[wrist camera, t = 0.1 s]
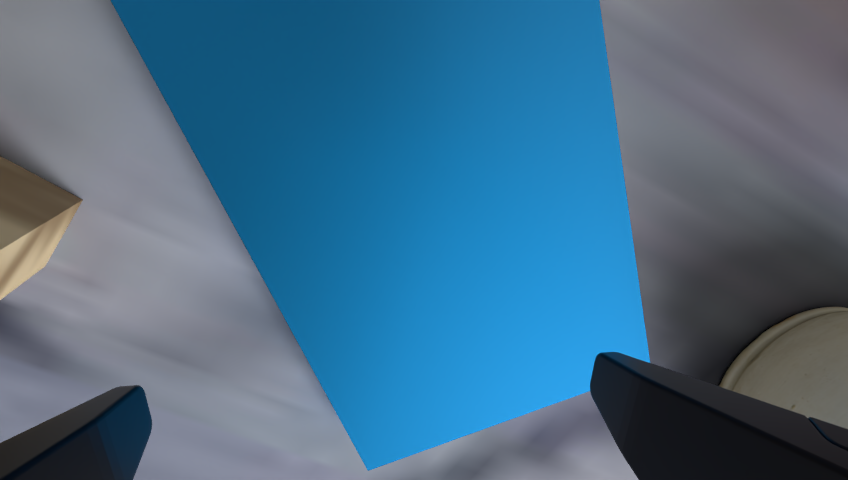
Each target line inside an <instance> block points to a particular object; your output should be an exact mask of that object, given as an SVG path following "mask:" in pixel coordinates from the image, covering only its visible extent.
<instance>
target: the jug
mask: <svg viewBox="0 0 848 480" xmlns="http://www.w3.org/2000/svg"><path fill="white" fill-rule="evenodd" d="M719 387H722V388H725V389H728V390H731V391H734V392H737V393H740V394H743V395H746V396H749V397H752V398H755V399H758V400H761V401H764V402H767V403H770V404H773V405H775V406H778V407H781V408H784V409H787V410H790V411H793V412H796V413H799V414H802V415H805V416H806V417H807V418H809V417H813V418H816V419H819V420H822V421H825V422H828V423H831V424H834V425H837V426H840V427H843V428H846V429H848V308H844V307H823V308H817V309H812V310H808V311H805V312H801V313H799V314H796V315H794V316H791V317H789V318H787V319H786V320H784V321H782V322H780V323H779V324H776V325H774V326H772V327H771V328H769V329H768V330H767V331H765V332H763V333H762V334H761V335H760V336H759V337H758V338H757V339H756V340H754V341H753V342H752V343H751V344H750V345H749V346H747V347H746V348H745V349H744V350H743V351H742V352H741V353H740V354H739V355H738V357H737V358H736V359H735V360H734V361H733V363H732V364H731V366H730V367H729V368H728V370H727V371H726V373H725V375H724V377H723V379H722V382H721V384H720V385H719Z"/></svg>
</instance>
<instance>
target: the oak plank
mask: <svg viewBox="0 0 848 480" xmlns="http://www.w3.org/2000/svg"><path fill="white" fill-rule="evenodd" d="M81 202H82V199H80V198H78V197H77V196H75V195H73V194H71V193H69V192H67V191H65V190H63V189H61V188H60V187H58V186H56V185H54V184H52V183H50V182H48V181H46V180H45V179H43V178H41V177H39V176H37V175H35V174H33V173H31V172H30V171H28V170H26V169H24V168H22V167H20V166H18V165H16V164H14V163H13V162H11V161H9V160H7V159H5V158H3V157H1V156H0V300H1V299H2V298H4V297H5V296H6V295H8V294H9V293H10V292H12V291H13V290H14V289H16V288H17V287H18V286H20V285H21V284H22V283H24V282H25V281H26V280H28V279H29V278H30V277H31V276H33V275H34V274H35V273H37V272H38V271H39V270H41V269H42V268H43V267H45V266H46V264H47V262H48V260H49V259H50V257H51V255H52V253H53V252H54V250H55V248H56V246H57V245H58V243H59V241H60V239H61V237H62V236H63V234H64V232H65V230H66V229H67V227H68V225H69V223H70V222H71V220H72V218H73V216H74V214H75V213H76V211H77V209H78V207H79V206H80V204H81Z"/></svg>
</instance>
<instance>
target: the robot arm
mask: <svg viewBox="0 0 848 480" xmlns="http://www.w3.org/2000/svg"><path fill="white" fill-rule="evenodd" d="M590 391H591V395H592V398H593V400H594V402H595V404H596V405H597V407H598V409H599V411H600V413H601V415H602V417H603V419H604V421H605V423H606V425H607V427H608V429H609V430H610V432H611V434H612V436H613V438H614V440H615V442H616V444H617V446H618V447H619V449H620V451H621V453H622V454H623V456H624V458H625V459H626V461H627V462H628V464H629V465H630V467H631V468H632V470H633V471H634V473H635V474H636V476H637V478H638V479H639V480H848V429H846V428H843V427H840V426H837V425H834V424H831V423H828V422H825V421H822V420H819V419H816V418H813V417H809V418H807V417H806V416H805V415H802V414H799V413H796V412H793V411H790V410H787V409H784V408H781V407H778V406H775V405H773V404H770V403H767V402H764V401H761V400H758V399H755V398H752V397H749V396H746V395H743V394H740V393H737V392H734V391H731V390H728V389H725V388H722V387H719V386H716V385H713V384H710V383H707V382H704V381H702V380H699V379H696V378H693V377H690V376H687V375H684V374H681V373H678V372H675V371H672V370H669V369H666V368H663V367H660V366H657V365H654V364H651V363H648V362H645V361H642V360H639V359H636V358H633V357H631V356H628V355H625V354H622V353H619V352H602V353H599V354H598V355H597V356H596V358H595V362H594V366H593V371H592V376H591V381H590ZM151 429H152V419H151V415H150V411H149V407H148V403H147V399H146V396H145V392H144V390H143V388H142V387H141V386H139V385H134V386H120V387H116V388H114V389H112V390H110V391H107V392H105V393H103V394H101V395H99V396H97V397H95V398H93V399H91V400H89V401H87V402H85V403H83V404H80V405H78V406H76V407H74V408H72V409H70V410H68V411H66V412H64V413H62V414H60V415H58V416H56V417H54V418H51V419H49V420H47V421H45V422H43V423H41V424H39V425H37V426H35V427H33V428H31V429H29V430H27V431H24V432H22V433H20V434H18V435H16V436H14V437H12V438H10V439H8V440H6V441H4V442H2V443H0V480H133V478H134V475H135V473H136V470H137V468H138V465H139V462H140V460H141V457H142V455H143V452H144V449H145V447H146V444H147V442H148V439H149V436H150V433H151Z"/></svg>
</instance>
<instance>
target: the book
mask: <svg viewBox="0 0 848 480" xmlns="http://www.w3.org/2000/svg"><path fill="white" fill-rule="evenodd" d="M111 2H112V4H113V6H114V7H115V9H116V11H117V13H118V15H119V17H120V18H121V20H122V22H123V24H124V26H125V28H126V29H127V31H128V33H129V35H130V37H131V38H132V40H133V42H134V44H135V46H136V48H137V49H138V51H139V53H140V55H141V57H142V59H143V60H144V62H145V64H146V66H147V68H148V70H149V71H150V73H151V75H152V77H153V79H154V81H155V82H156V84H157V86H158V88H159V90H160V91H161V93H162V95H163V97H164V99H165V101H166V102H167V104H168V106H169V108H170V110H171V112H172V113H173V115H174V117H175V119H176V121H177V123H178V124H179V126H180V128H181V130H182V132H183V134H184V135H185V137H186V139H187V141H188V143H189V144H190V146H191V148H192V150H193V152H194V154H195V155H196V157H197V159H198V161H199V163H200V165H201V166H202V168H203V170H204V172H205V174H206V176H207V177H208V179H209V181H210V183H211V185H212V187H213V188H214V190H215V192H216V194H217V196H218V197H219V199H220V201H221V203H222V205H223V207H224V208H225V210H226V212H227V214H228V216H229V218H230V219H231V221H232V223H233V225H234V227H235V229H236V230H237V232H238V234H239V236H240V238H241V240H242V241H243V243H244V245H245V247H246V249H247V250H248V252H249V254H250V256H251V258H252V260H253V261H254V263H255V265H256V267H257V269H258V271H259V272H260V274H261V276H262V278H263V280H264V282H265V283H266V285H267V287H268V289H269V291H270V292H271V294H272V296H273V298H274V300H275V302H276V303H277V305H278V307H279V309H280V311H281V313H282V314H283V316H284V318H285V320H286V322H287V324H288V325H289V327H290V329H291V331H292V333H293V335H294V336H295V338H296V340H297V342H298V344H299V345H300V347H301V349H302V351H303V353H304V355H305V356H306V358H307V360H308V362H309V364H310V366H311V367H312V369H313V371H314V373H315V375H316V377H317V378H318V380H319V382H320V384H321V386H322V388H323V389H324V391H325V393H326V395H327V397H328V398H329V400H330V402H331V404H332V406H333V408H334V409H335V411H336V413H337V415H338V417H339V419H340V420H341V422H342V424H343V426H344V428H345V430H346V431H347V433H348V435H349V437H350V439H351V441H352V442H353V444H354V446H355V448H356V450H357V451H358V453H359V455H360V457H361V459H362V461H363V462H364V464H365V466H366V468H367V470H368V471H369V470H372V469H374V468H377V467H380V466H383V465H385V464H388V463H391V462H394V461H397V460H399V459H402V458H405V457H408V456H410V455H413V454H416V453H419V452H422V451H424V450H427V449H430V448H433V447H435V446H438V445H441V444H444V443H447V442H449V441H452V440H455V439H458V438H460V437H463V436H466V435H469V434H472V433H474V432H477V431H480V430H483V429H485V428H488V427H491V426H494V425H497V424H499V423H502V422H505V421H508V420H510V419H513V418H516V417H519V416H522V415H524V414H527V413H530V412H533V411H535V410H538V409H541V408H544V407H547V406H549V405H552V404H555V403H558V402H560V401H563V400H566V399H569V398H572V397H574V396H577V395H580V394H583V393H585V392H588V391H590V381H591V376H592V371H593V366H594V362H595V358H596V356H597V355H598V354H599V353H602V352H619V353H622V354H625V355H628V356H631V357H633V358H636V359H639V360H642V361H645V362H648V363H650V358H649V351H648V344H647V337H646V330H645V323H644V315H643V308H642V301H641V294H640V287H639V280H638V273H637V266H636V259H635V251H634V244H633V237H632V230H631V223H630V216H629V209H628V202H627V194H626V187H625V180H624V173H623V166H622V159H621V152H620V145H619V138H618V130H617V123H616V116H615V109H614V102H613V95H612V88H611V81H610V74H609V66H608V59H607V52H606V45H605V38H604V31H603V24H602V17H601V9H600V2H599V0H111Z"/></svg>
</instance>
